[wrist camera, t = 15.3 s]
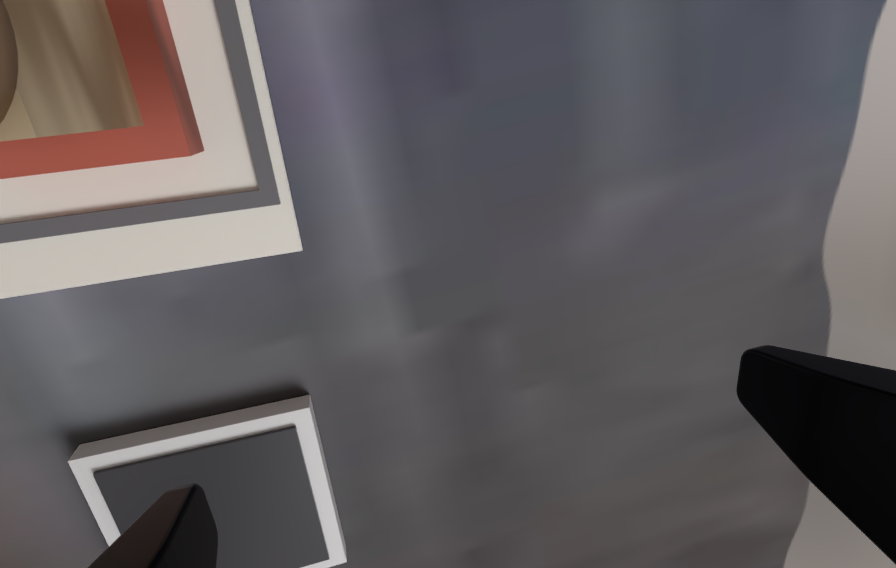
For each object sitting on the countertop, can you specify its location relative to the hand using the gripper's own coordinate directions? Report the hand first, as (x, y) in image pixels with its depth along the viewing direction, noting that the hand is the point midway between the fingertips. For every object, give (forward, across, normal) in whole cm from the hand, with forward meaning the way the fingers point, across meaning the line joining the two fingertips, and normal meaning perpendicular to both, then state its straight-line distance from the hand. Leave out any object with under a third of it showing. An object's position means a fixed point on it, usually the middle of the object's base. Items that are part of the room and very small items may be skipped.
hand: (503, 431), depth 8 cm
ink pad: (+13, +9, +11) cm, 19 cm away
